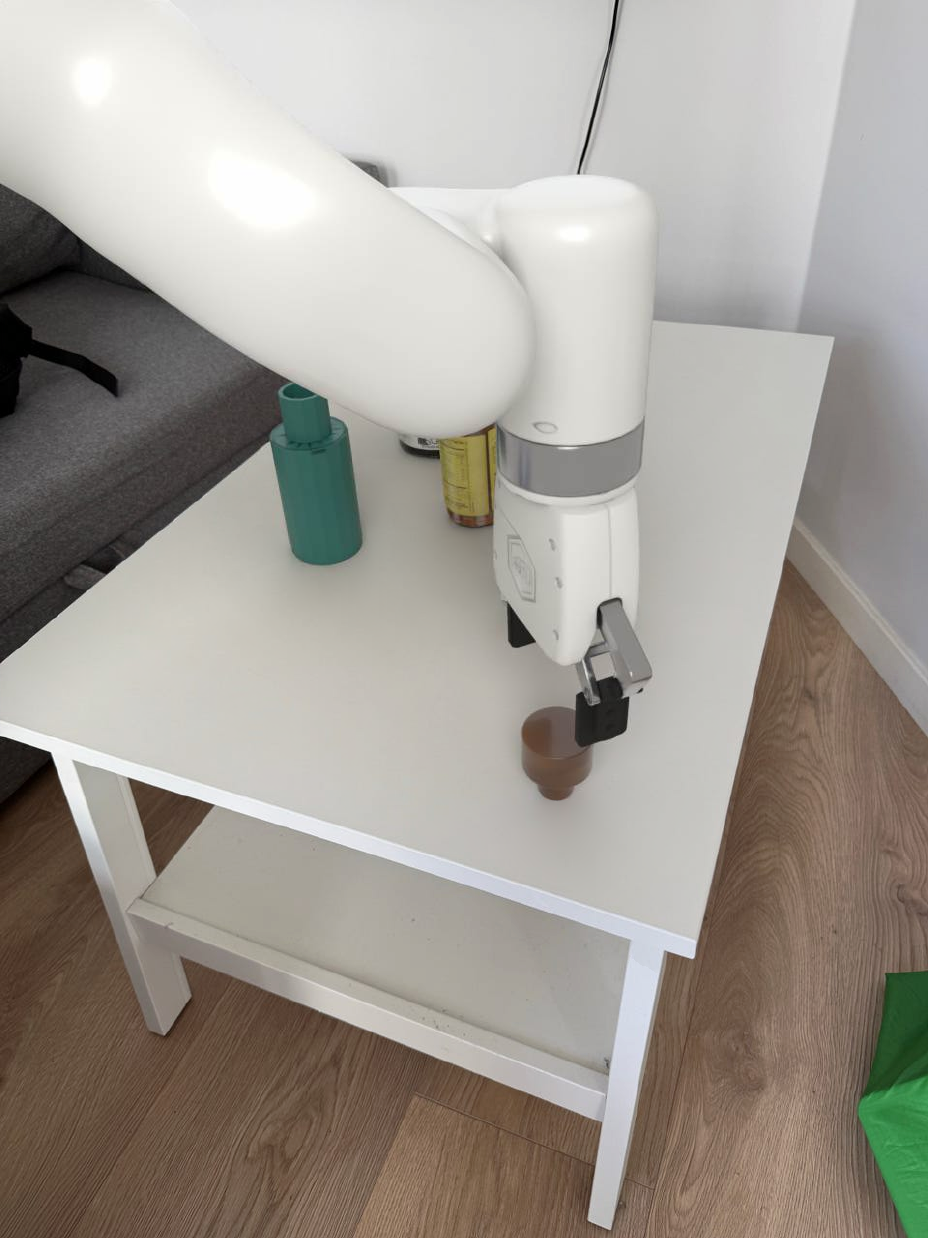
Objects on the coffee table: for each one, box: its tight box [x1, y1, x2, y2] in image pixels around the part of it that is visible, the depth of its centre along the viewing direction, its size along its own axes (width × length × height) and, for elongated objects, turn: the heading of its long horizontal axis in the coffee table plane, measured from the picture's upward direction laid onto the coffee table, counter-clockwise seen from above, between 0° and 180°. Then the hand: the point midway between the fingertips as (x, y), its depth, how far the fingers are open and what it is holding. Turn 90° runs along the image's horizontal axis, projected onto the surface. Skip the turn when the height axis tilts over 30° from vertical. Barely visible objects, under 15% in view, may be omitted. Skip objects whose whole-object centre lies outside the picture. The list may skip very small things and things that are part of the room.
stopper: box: [520, 706, 595, 801], centre depth 62 cm, size 5×5×6 cm
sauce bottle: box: [438, 422, 497, 528], centre depth 85 cm, size 7×6×20 cm
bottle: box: [268, 381, 363, 566], centre depth 83 cm, size 7×7×16 cm
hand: (563, 685), depth 58 cm, fingers open, 9 cm apart
